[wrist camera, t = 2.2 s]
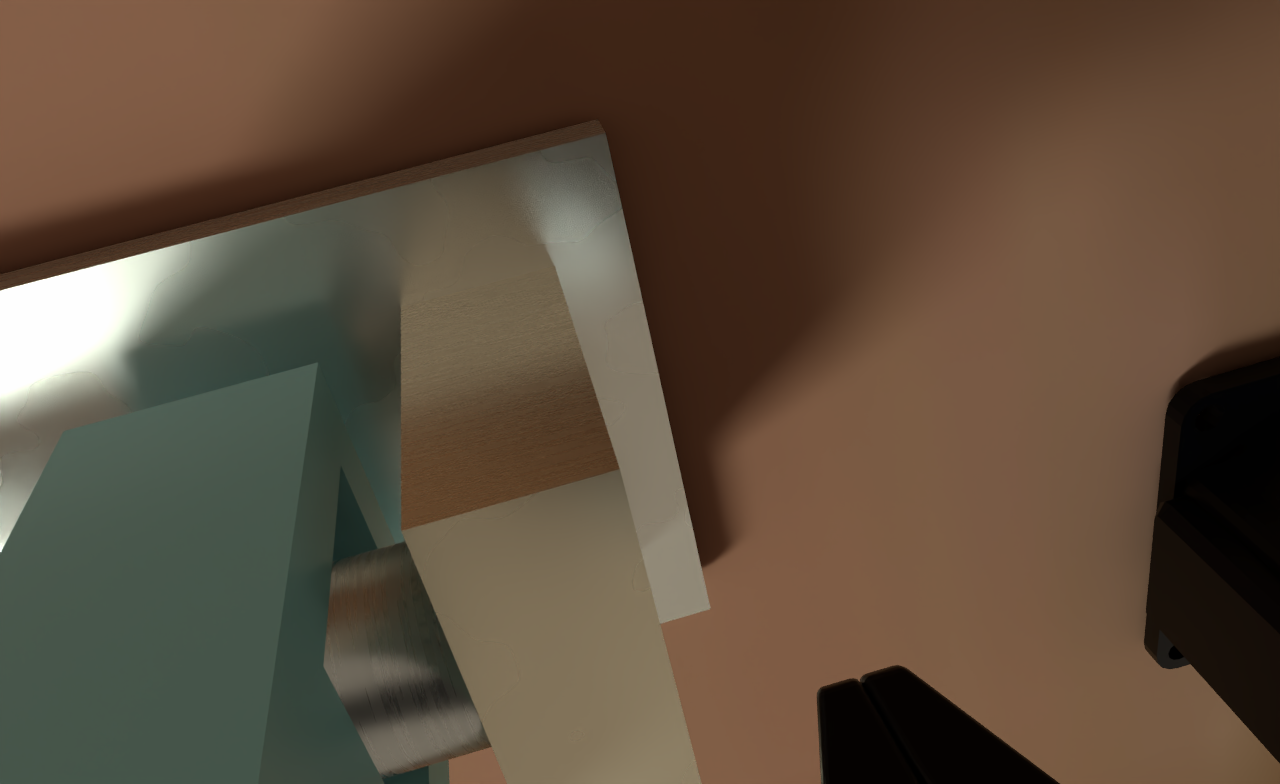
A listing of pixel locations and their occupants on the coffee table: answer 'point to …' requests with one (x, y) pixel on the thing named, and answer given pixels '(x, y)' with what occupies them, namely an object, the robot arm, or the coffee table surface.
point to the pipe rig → (427, 439)
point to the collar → (188, 596)
